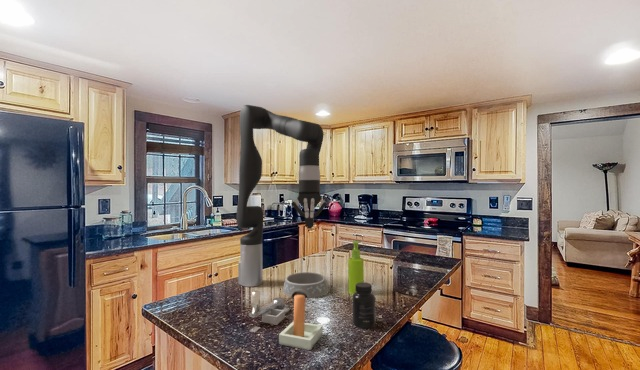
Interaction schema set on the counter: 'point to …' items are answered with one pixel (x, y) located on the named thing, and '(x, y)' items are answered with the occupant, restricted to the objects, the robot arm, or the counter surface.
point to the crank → (257, 310)
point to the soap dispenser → (355, 268)
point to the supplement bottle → (363, 306)
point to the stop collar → (273, 316)
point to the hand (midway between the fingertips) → (309, 228)
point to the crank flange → (272, 308)
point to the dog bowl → (305, 284)
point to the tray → (306, 342)
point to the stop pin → (299, 315)
